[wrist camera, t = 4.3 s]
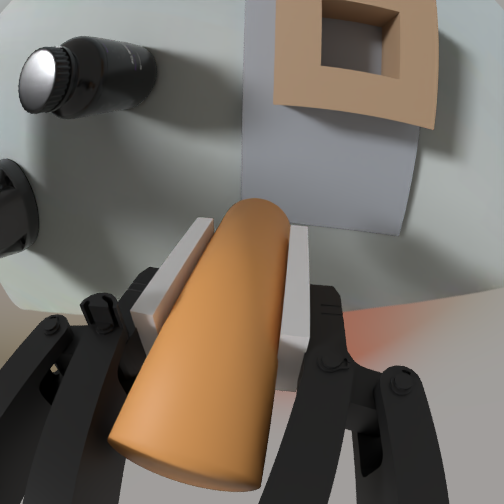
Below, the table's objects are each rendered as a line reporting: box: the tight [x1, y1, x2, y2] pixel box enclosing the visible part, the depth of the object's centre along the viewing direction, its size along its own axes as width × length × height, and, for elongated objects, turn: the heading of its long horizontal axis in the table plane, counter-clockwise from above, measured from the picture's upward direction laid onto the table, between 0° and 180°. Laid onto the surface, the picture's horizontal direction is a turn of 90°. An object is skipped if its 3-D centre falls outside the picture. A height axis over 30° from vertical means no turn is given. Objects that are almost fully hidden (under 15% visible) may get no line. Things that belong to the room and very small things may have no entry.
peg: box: [107, 198, 290, 492], centre depth 10 cm, size 4×4×12 cm
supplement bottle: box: [18, 36, 157, 119], centre depth 17 cm, size 7×7×12 cm
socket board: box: [241, 0, 439, 236], centre depth 18 cm, size 15×22×6 cm
